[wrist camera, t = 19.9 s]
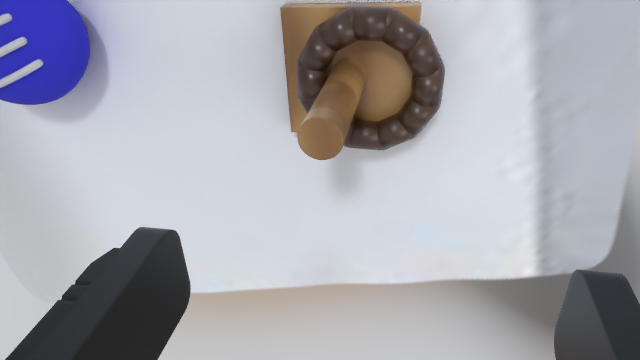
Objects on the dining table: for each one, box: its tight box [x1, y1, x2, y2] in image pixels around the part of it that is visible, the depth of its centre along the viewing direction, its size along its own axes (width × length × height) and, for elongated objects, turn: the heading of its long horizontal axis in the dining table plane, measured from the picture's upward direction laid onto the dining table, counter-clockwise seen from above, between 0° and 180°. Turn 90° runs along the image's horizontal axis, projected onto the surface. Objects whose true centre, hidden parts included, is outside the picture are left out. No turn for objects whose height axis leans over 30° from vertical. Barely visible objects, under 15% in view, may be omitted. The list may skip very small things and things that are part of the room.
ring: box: [297, 6, 445, 150], centre depth 32 cm, size 10×10×2 cm
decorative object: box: [0, 0, 90, 105], centre depth 35 cm, size 10×6×10 cm
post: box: [280, 2, 421, 160], centre depth 29 cm, size 9×9×11 cm
